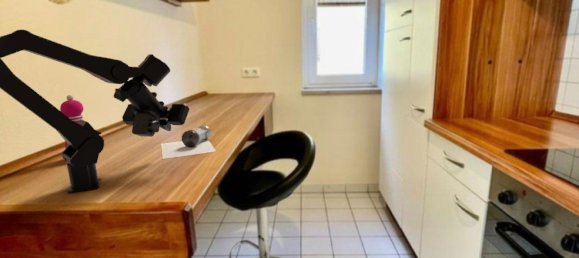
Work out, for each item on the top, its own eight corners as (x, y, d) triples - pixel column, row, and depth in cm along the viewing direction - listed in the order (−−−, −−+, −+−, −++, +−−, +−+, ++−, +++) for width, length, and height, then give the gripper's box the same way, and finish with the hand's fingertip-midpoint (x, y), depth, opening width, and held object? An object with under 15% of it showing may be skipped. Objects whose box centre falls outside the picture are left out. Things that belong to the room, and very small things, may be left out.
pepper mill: (64, 162, 101) (51, 97, 97) (72, 156, 108) (60, 94, 104) (90, 159, 103) (78, 95, 99) (96, 153, 110) (86, 93, 106)
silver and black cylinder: (198, 134, 110) (213, 127, 120) (183, 128, 110) (199, 122, 121) (195, 149, 111) (210, 141, 122) (180, 144, 112) (196, 136, 122)
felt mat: (216, 152, 106) (216, 151, 105) (162, 159, 100) (162, 158, 100) (207, 138, 124) (206, 137, 124) (161, 144, 118) (161, 143, 118)
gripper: (99, 123, 87) (133, 152, 99) (162, 123, 82) (189, 154, 95) (116, 89, 92) (146, 121, 105) (176, 88, 88) (200, 121, 101)
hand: (169, 129), depth 101 cm, fingers closed
